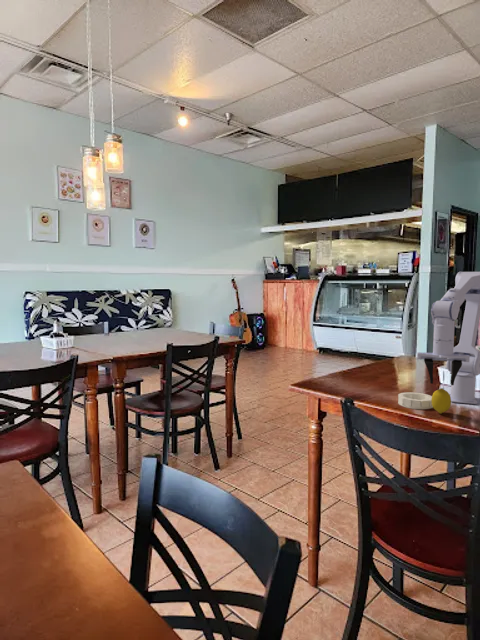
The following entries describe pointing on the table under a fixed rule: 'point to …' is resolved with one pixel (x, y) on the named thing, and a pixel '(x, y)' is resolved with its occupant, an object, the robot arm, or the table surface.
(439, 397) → the lemon
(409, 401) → the ring dish
